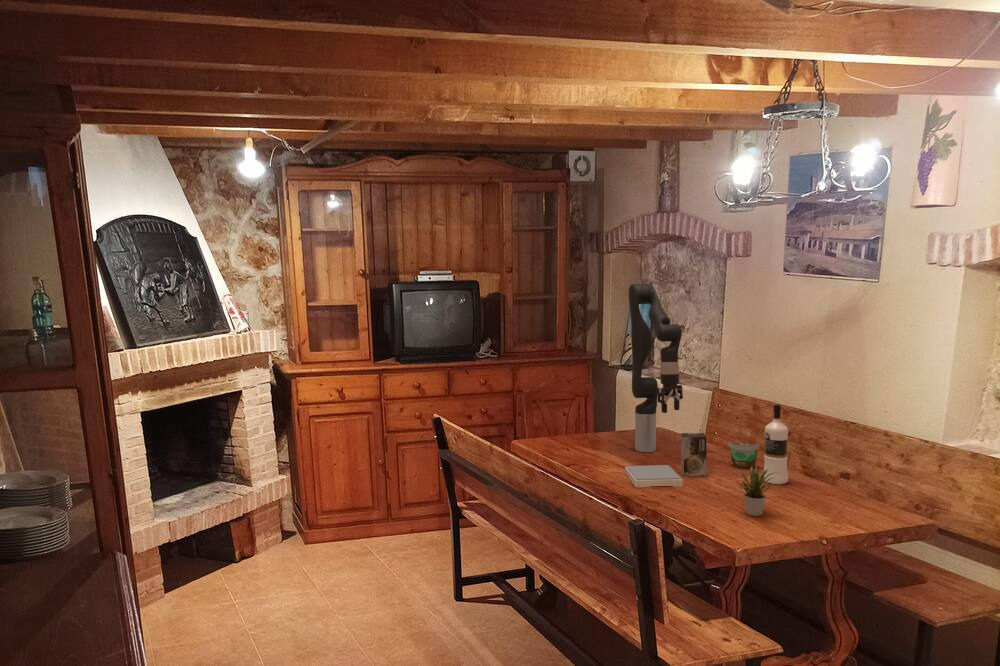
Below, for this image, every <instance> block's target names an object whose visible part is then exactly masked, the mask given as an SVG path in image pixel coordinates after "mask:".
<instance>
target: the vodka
mask: <svg viewBox="0 0 1000 666" xmlns="http://www.w3.org/2000/svg"><path fill="white" fill-rule="evenodd" d="M781 406H782V405H781V404H774V405H773V413H772V414H773V415H772V418H773V419H772V421H771V422H769V423H768V424H767V425H766V426H765V427H764V455H763V457H764V458H763V459H764V465H763V471H762V473H763V472H764V471H765V470H766V469H768V468H769V469H768V470H767V473H766V475H765V476H764V477H766V476H767V475H769V474H770V473H774V474H772V475H770V476H768V478H766V479H765V480H764V479H763V480H764V481H763V482H764V483H765V482H766V481H767V480H768V479H770V478H772V479H770V480H768V481H767V482H766V484H767V483H768V484H770V483H771V485H785V484H787V483H788V482H789V475H788V468H787V466H788V465H787V464H788V459H789V457H788V439H789V428H788V426H787V425H785V424H784V423H783V422H782V421H781V418H782V417H781V412H782V407H781ZM775 472H777V473H775Z"/></svg>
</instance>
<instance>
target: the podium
mask: <svg viewBox="0 0 1000 666" xmlns="http://www.w3.org/2000/svg"><path fill="white" fill-rule="evenodd" d="M624 474H625V475H626V476H628V477H627V478H628V479H629V480H631V481H630V482H631V483H632V485H633V484H634V485H633V486H634V487H635V488H651V487H650V486H673V487H684V485H683V484H684V479H683V478H682V477H681V476H680V475H679V474H678V473H677V472H676V470H674V469H673V468H672V467H671V466H670V465H668V464H664V465H663V464H662V465H661V464H659V465H626V466H625V467H624Z"/></svg>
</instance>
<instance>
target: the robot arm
mask: <svg viewBox="0 0 1000 666" xmlns="http://www.w3.org/2000/svg"><path fill="white" fill-rule="evenodd" d="M628 303H629V304H628V305H629V314H630V325H631V326H630V334H631V335H630V338H631V340H630V341H631V357H632V363H631V364H632V367H631V368H632V370H631V392H632V393H631V394H632V395H633V397H634V398H635V399H645V398H646V399H645V400H644V401H642V402H641V403H639V404H636V406H635V408H634V409H635V411H634V412H635V413H634V417H635V419H634V421H635V422H634V423H635V424H634V425H635V427H634V428H635V429H634V430H635V431H634V450H635V451H636V452H641V453H653V452H656V450H657V449H656V447H657V407H658V403H660V404H661V405H660V406H661V408H660V409H661V413H663V414H667V413H668V401H669V400H670V398H672V399H673V410H674V411H680V401H681V400H683V398H684V396H683V395H684V394H683V385H682V384H680V365H679V349H680V344H681V340H682V337H683V331H682V330H683V329H682V328H681V326H680V325H679V324H677V323H676V324H674V323H673V324H671V320H670V318H669V315H668V314H667V313H666V312H665V310H664V308H663V307H662V304H661V301H660V298H659V296H658V294H657V290H656V289H655V287H654V286H653V284H650V283H632V284H630V286H629V288H628ZM640 305H650V307H649V310H648V318H649V320H650V322H651V324H652V325H653V327H654V332H655V337H656V339H657V340H658V341H659V342H670V343H669V345H668V346H665V347H662V348H661V349H660V367H659V368H660V373H659V374H660V384H662V387H659V385H658V381H657V379H656V378H655V377H653V376H649V377H648V376H644V377H642V373H643V367H644V365H645V363H646V362H647V360H648V358H649V356H650V355H651V353H652V351H653V333H652V329H651V328H650V327H649V325H648V324H647V322H646V321H645V319H644V318H643V315H642V313H641V309H640Z"/></svg>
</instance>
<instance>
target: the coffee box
mask: <svg viewBox="0 0 1000 666" xmlns="http://www.w3.org/2000/svg"><path fill="white" fill-rule="evenodd" d="M680 435H681V436H680V437H681V440H680V441H681V442H680V445H681V448H680V449H681V450H680V451H681V453H680V455H681V458H680V463H681V464H680V468H681V469H680V472H681V474H682V475H685V476H684V477H707V436H706V434H705V433H704V432H681V434H680ZM699 475H701V476H699ZM702 475H704V476H702Z"/></svg>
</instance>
